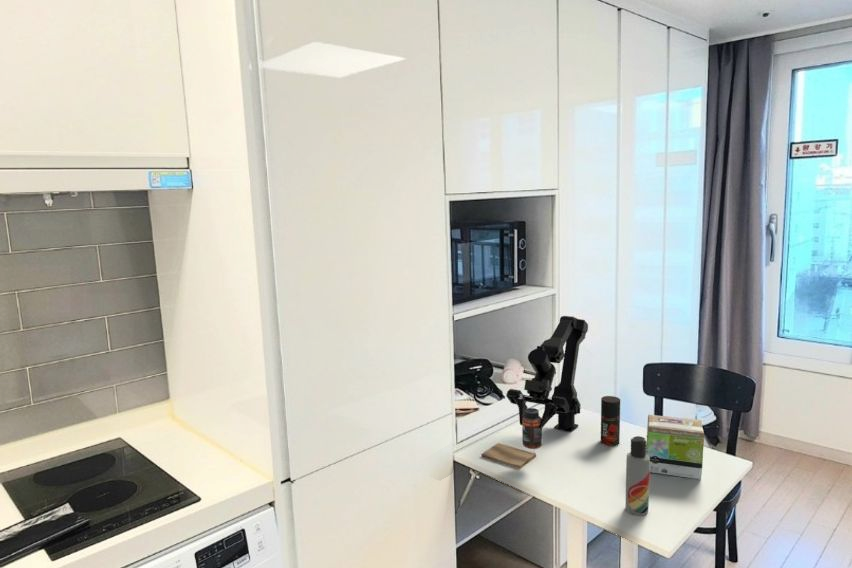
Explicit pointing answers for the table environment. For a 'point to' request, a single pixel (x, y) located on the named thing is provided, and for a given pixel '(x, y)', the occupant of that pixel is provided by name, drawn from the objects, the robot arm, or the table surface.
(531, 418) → the supplement bottle
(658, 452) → the tea box
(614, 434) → the deodorant
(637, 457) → the lotion bottle
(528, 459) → the walnut board
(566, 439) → the table surface
